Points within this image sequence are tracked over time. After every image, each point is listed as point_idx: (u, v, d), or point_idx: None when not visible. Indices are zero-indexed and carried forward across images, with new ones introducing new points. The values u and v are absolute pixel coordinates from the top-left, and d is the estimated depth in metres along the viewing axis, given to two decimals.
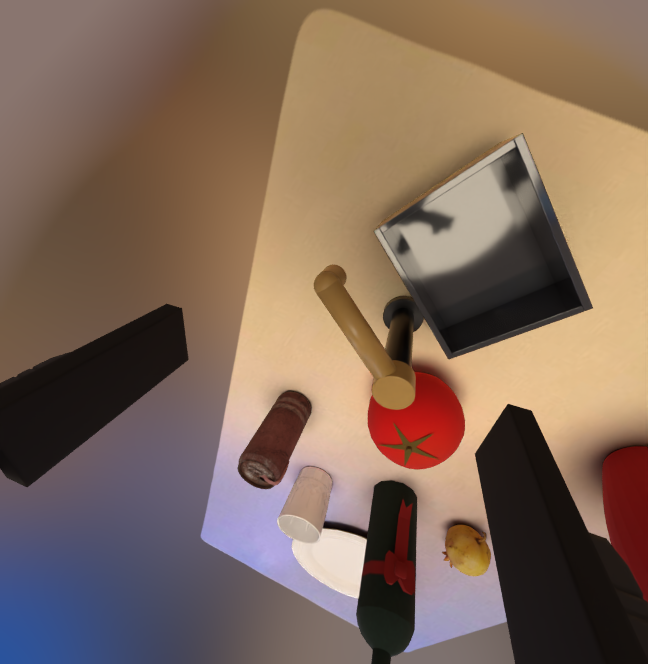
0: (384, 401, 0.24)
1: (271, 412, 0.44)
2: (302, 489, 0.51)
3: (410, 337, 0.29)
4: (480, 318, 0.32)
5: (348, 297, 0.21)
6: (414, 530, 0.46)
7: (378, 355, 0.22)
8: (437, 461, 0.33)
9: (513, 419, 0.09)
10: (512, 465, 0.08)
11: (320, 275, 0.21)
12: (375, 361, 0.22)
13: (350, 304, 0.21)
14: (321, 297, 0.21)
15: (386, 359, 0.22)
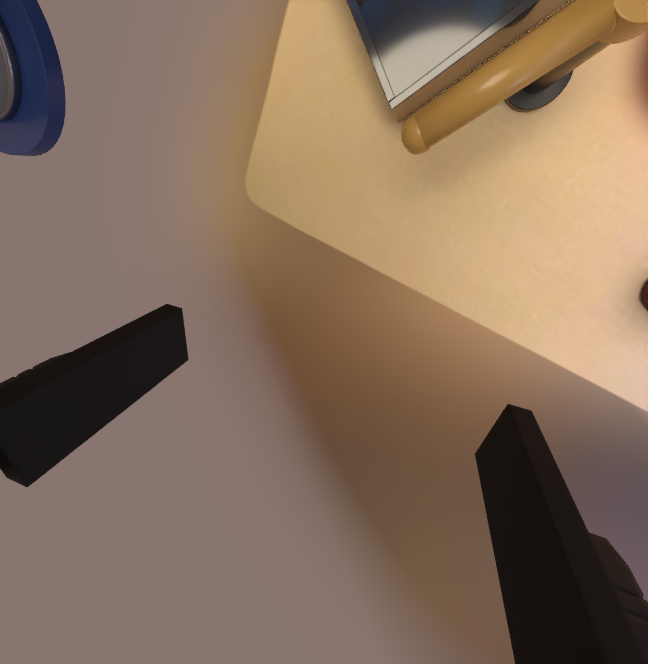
0: None
1: None
2: None
3: None
4: None
5: (440, 94, 0.16)
6: None
7: (555, 20, 0.13)
8: None
9: (513, 419, 0.09)
10: (512, 465, 0.08)
11: (403, 138, 0.17)
12: (566, 22, 0.13)
13: (450, 89, 0.15)
14: (430, 135, 0.16)
15: (571, 3, 0.13)
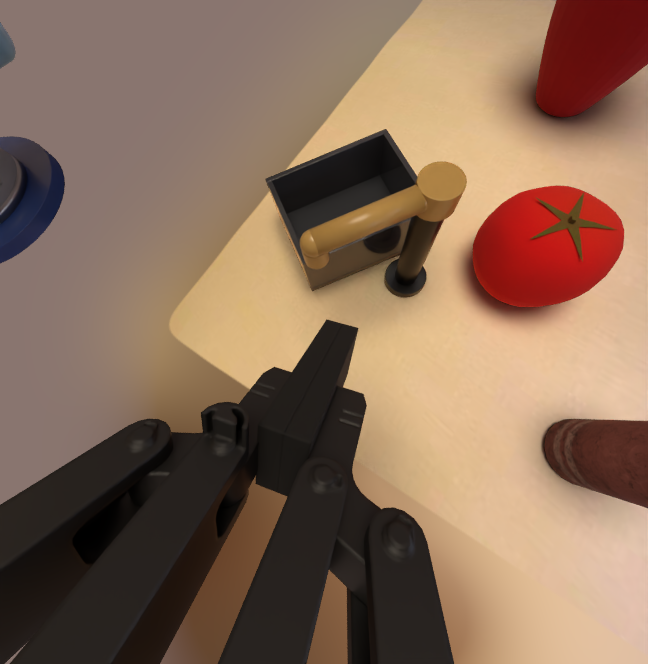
0: (454, 188, 0.20)
1: (587, 473, 0.23)
2: None
3: None
4: None
5: None
6: None
7: (392, 195, 0.21)
8: (590, 196, 0.26)
9: (338, 331, 0.12)
10: None
11: (300, 243, 0.21)
12: (398, 195, 0.20)
13: (333, 219, 0.21)
14: (320, 240, 0.20)
15: None
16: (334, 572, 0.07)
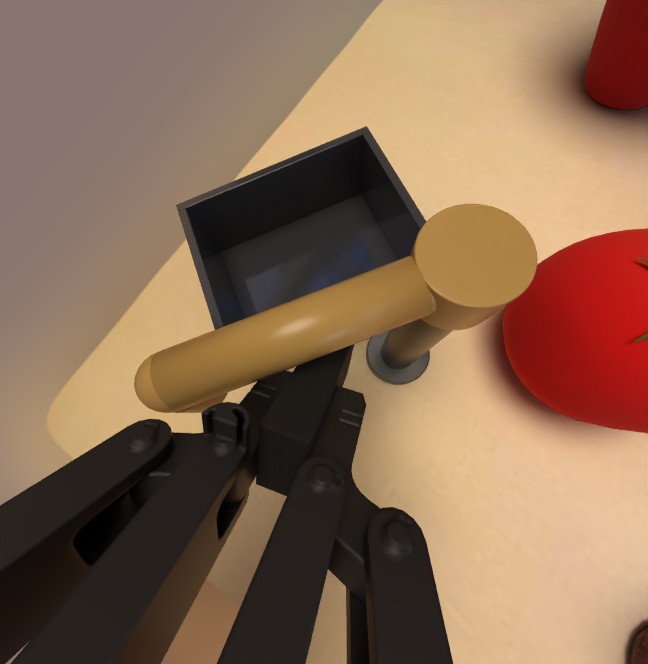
0: (507, 275, 0.08)
1: None
2: None
3: None
4: (398, 250, 0.24)
5: (208, 333, 0.09)
6: None
7: (354, 280, 0.09)
8: None
9: None
10: None
11: None
12: (367, 284, 0.08)
13: (217, 329, 0.09)
14: (172, 389, 0.08)
15: (373, 270, 0.09)
16: (333, 572, 0.07)
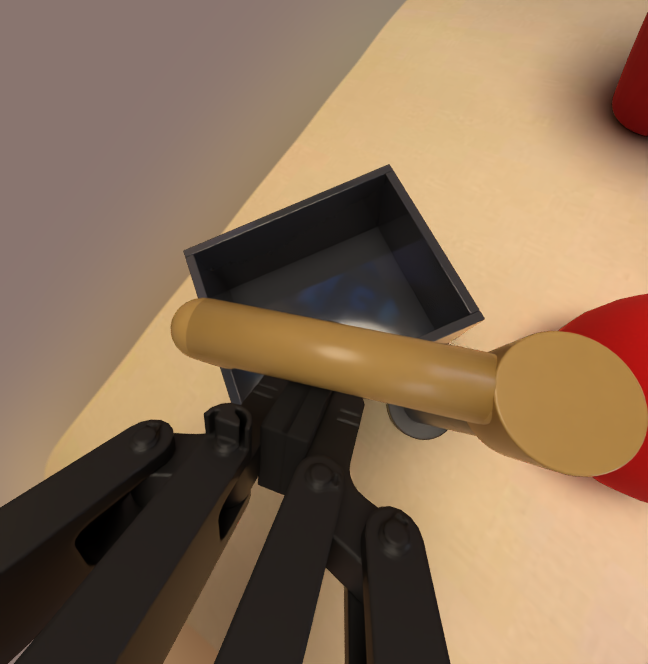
0: (590, 447, 0.07)
1: None
2: None
3: None
4: (420, 293, 0.22)
5: None
6: None
7: (421, 345, 0.08)
8: None
9: None
10: None
11: None
12: (432, 360, 0.07)
13: (268, 310, 0.09)
14: (199, 342, 0.08)
15: (448, 345, 0.08)
16: (331, 571, 0.07)
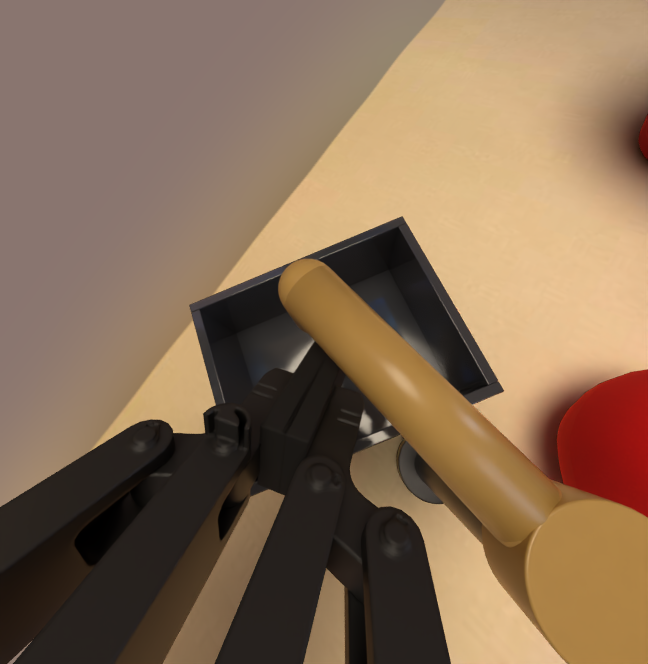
0: (605, 652, 0.06)
1: None
2: None
3: None
4: (433, 344, 0.21)
5: (363, 300, 0.09)
6: None
7: (491, 433, 0.07)
8: None
9: None
10: None
11: (292, 264, 0.09)
12: (494, 454, 0.07)
13: (370, 308, 0.09)
14: (299, 299, 0.09)
15: (517, 450, 0.07)
16: (332, 571, 0.07)
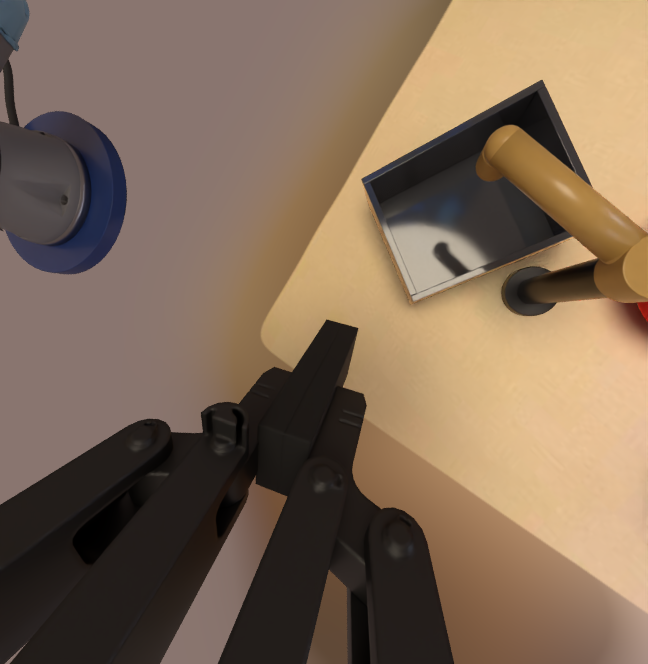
0: None
1: None
2: None
3: (561, 269, 0.22)
4: None
5: None
6: None
7: (616, 209, 0.15)
8: None
9: (338, 331, 0.12)
10: None
11: (496, 130, 0.16)
12: (617, 217, 0.14)
13: (549, 152, 0.15)
14: (507, 151, 0.16)
15: None
16: (334, 573, 0.07)
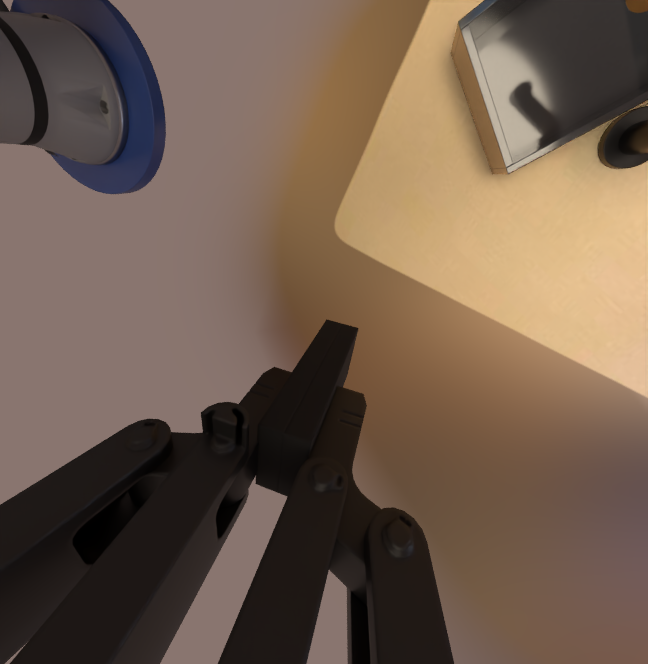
0: None
1: None
2: None
3: None
4: None
5: None
6: None
7: None
8: None
9: (338, 331, 0.12)
10: None
11: None
12: None
13: None
14: None
15: None
16: (334, 572, 0.07)
